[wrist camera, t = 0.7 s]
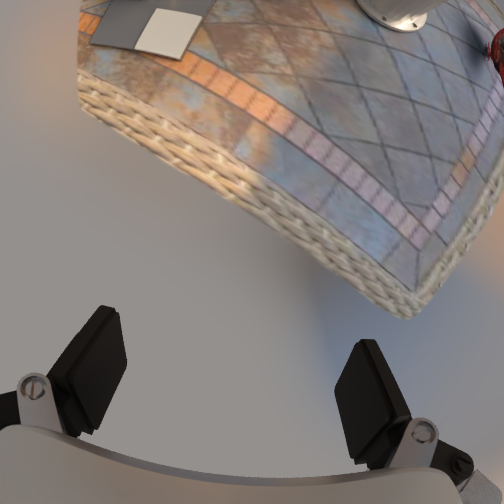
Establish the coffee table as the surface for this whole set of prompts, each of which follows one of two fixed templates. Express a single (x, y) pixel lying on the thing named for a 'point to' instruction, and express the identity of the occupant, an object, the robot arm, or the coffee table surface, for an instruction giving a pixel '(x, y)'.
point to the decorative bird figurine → (497, 53)
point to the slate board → (141, 21)
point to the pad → (168, 33)
